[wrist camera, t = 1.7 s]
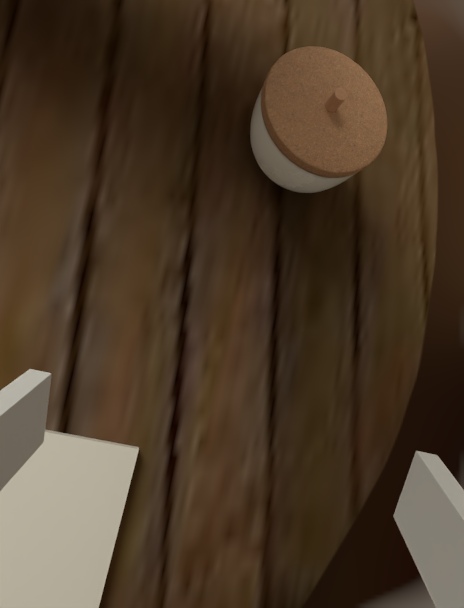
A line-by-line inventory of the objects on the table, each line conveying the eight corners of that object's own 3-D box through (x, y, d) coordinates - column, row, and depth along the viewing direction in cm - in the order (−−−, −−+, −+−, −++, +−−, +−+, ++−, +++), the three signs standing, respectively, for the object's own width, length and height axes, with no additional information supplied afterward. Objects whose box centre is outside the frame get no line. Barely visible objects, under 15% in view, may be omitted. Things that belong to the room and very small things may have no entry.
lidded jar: (325, 227, 40) (388, 184, 31) (220, 184, 37) (256, 124, 28) (347, 133, 42) (412, 68, 33) (251, 86, 40) (293, 3, 31)
